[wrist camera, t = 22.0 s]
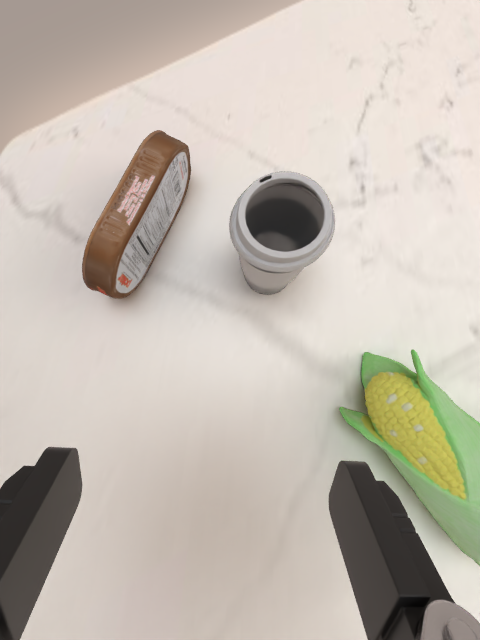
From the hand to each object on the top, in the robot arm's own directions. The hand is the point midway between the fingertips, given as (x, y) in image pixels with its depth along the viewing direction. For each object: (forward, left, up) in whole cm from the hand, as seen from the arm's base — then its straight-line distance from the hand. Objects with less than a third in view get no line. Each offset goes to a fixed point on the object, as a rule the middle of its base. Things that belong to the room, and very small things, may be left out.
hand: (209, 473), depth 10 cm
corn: (+18, -3, -21) cm, 27 cm away
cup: (+3, +13, -21) cm, 25 cm away
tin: (-8, +16, -21) cm, 27 cm away
